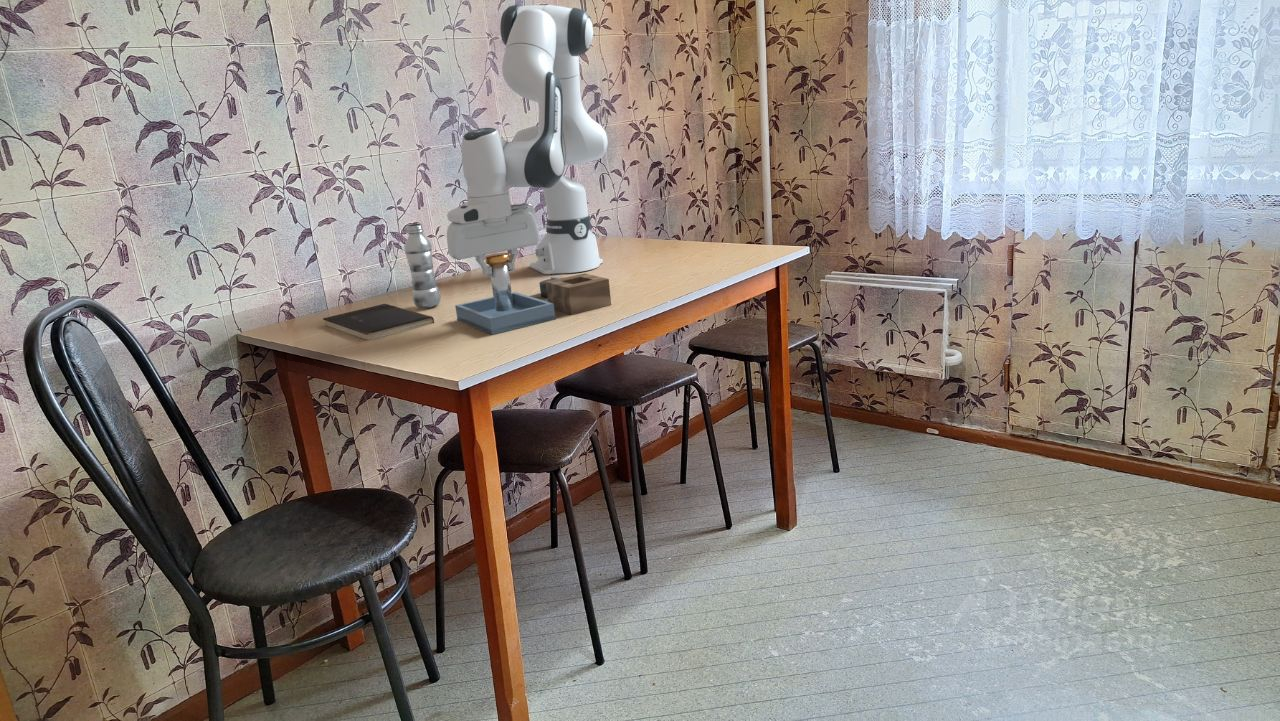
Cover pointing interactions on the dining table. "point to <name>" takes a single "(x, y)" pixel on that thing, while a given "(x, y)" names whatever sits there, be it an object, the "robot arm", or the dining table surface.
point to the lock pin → (500, 281)
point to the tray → (505, 314)
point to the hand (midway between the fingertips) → (499, 272)
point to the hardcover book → (378, 321)
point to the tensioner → (575, 293)
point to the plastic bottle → (421, 267)
